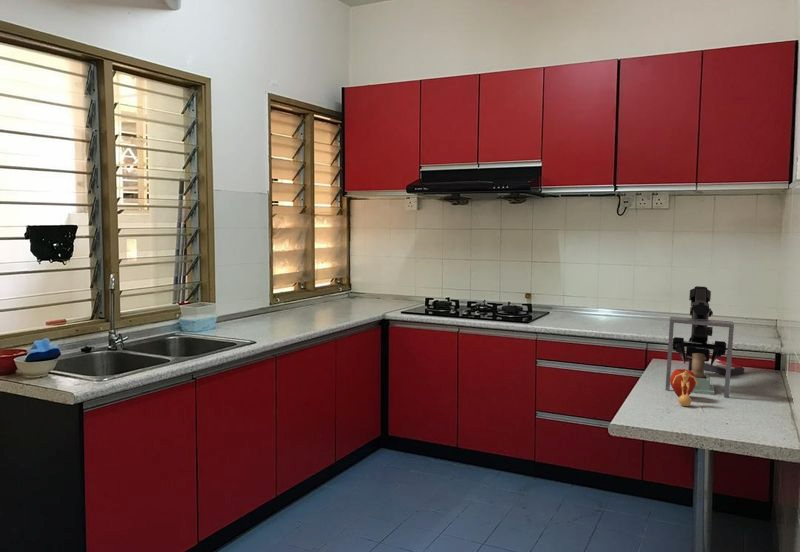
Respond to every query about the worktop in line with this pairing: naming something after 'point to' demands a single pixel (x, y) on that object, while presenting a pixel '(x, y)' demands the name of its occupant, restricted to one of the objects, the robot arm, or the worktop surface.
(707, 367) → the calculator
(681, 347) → the robot arm
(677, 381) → the apple
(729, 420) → the worktop surface
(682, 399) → the figurine
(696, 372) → the peg
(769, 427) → the worktop surface
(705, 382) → the socket block
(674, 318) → the grey table frame
